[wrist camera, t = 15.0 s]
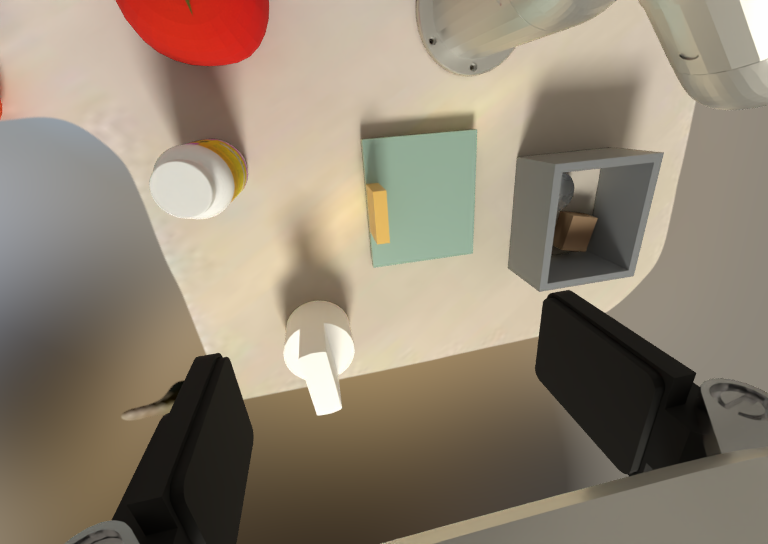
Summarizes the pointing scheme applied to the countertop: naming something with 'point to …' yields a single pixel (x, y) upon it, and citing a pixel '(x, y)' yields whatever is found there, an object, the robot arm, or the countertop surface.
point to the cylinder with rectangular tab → (319, 351)
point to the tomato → (199, 28)
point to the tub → (612, 208)
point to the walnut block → (573, 231)
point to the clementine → (0, 108)
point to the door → (420, 195)
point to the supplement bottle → (198, 178)
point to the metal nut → (565, 191)
